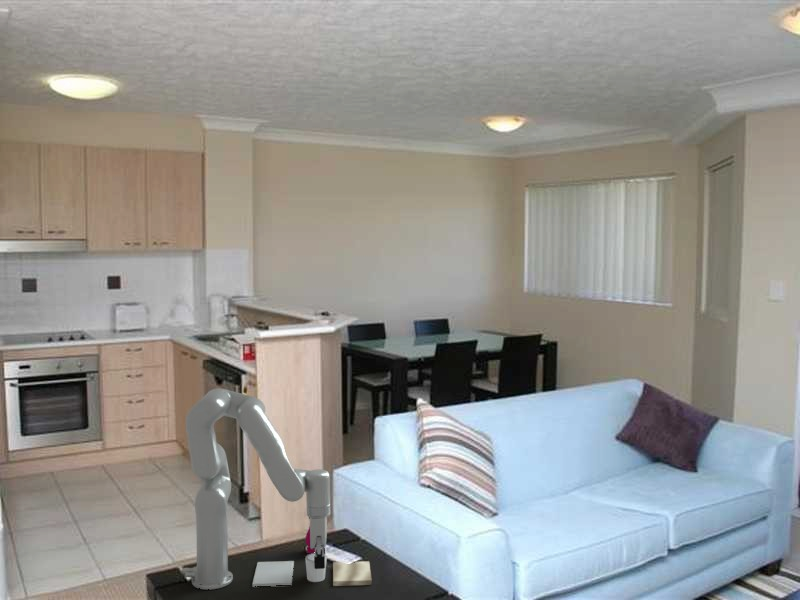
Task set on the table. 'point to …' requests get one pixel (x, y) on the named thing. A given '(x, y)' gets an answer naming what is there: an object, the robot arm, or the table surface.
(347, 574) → the birch board
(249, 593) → the table surface
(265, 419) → the robot arm
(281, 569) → the grey tile
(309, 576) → the shot glass
